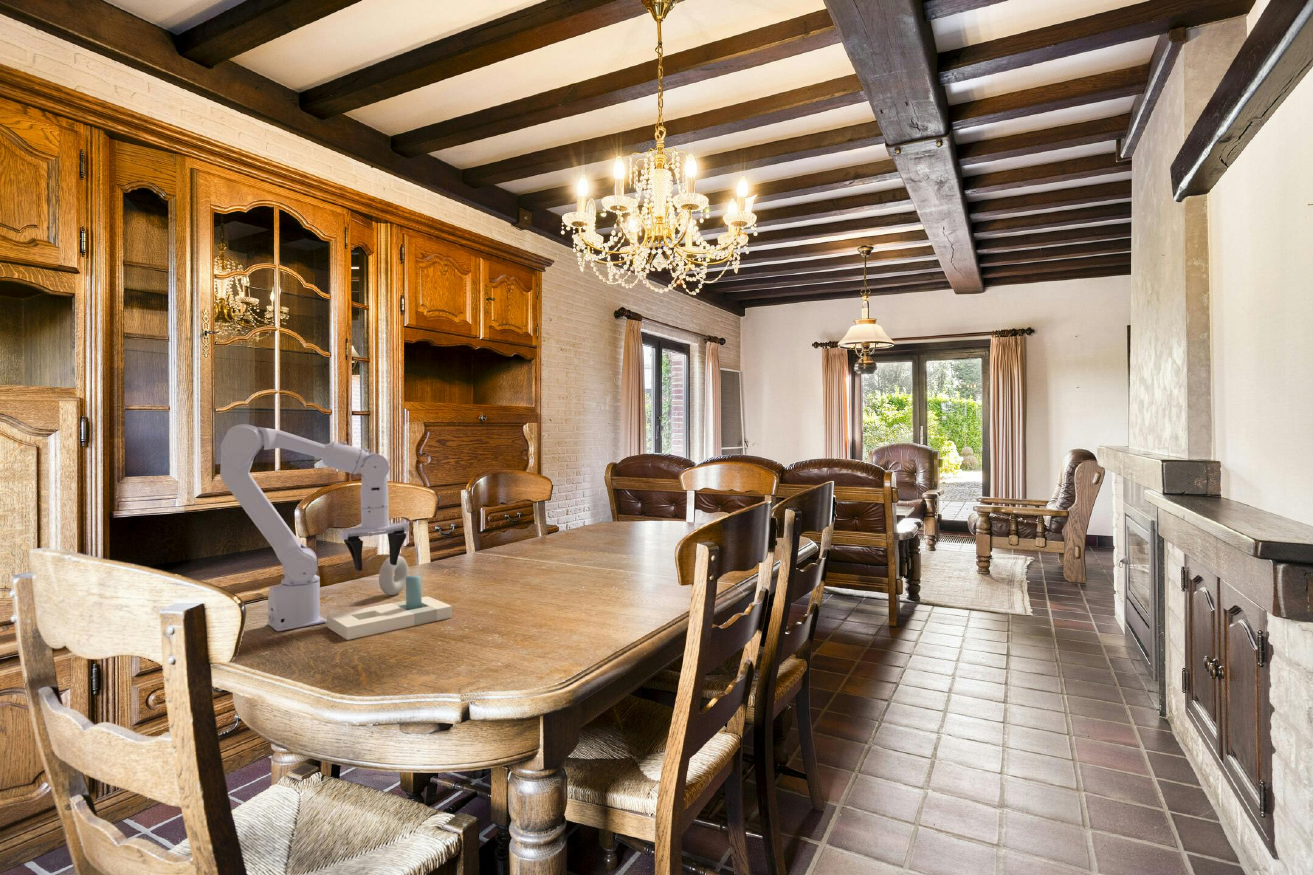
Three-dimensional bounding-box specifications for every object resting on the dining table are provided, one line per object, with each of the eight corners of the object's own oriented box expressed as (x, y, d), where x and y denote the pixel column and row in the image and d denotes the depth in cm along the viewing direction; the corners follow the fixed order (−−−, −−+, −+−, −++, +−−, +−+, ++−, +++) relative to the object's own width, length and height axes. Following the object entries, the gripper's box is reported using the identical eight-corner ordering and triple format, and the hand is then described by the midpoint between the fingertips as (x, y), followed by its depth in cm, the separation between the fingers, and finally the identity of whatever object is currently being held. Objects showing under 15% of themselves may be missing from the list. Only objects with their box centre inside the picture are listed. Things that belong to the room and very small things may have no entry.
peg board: (347, 639, 128) (347, 627, 128) (327, 626, 137) (326, 614, 137) (452, 617, 143) (452, 606, 143) (428, 606, 152) (427, 596, 152)
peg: (409, 620, 141) (409, 578, 141) (403, 617, 144) (403, 576, 143) (424, 617, 143) (423, 576, 143) (417, 614, 146) (417, 574, 146)
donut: (388, 600, 158) (388, 559, 158) (375, 599, 159) (375, 558, 159) (411, 590, 168) (411, 551, 168) (399, 589, 169) (398, 551, 169)
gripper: (347, 511, 138) (349, 575, 139) (414, 505, 149) (415, 564, 149) (335, 509, 144) (337, 570, 144) (401, 502, 154) (402, 560, 154)
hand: (376, 567), depth 147 cm, fingers open, 7 cm apart
